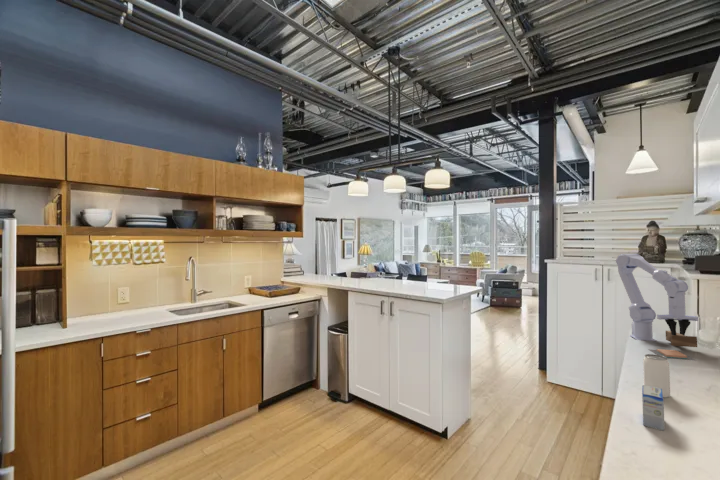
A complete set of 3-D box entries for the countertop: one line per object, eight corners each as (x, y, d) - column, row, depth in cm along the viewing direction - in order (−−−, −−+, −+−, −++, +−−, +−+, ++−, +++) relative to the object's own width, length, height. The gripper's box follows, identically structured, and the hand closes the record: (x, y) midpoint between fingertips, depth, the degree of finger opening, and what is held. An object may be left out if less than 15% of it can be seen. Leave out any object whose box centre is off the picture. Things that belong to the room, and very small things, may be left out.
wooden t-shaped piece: (657, 339, 168) (657, 330, 168) (680, 340, 165) (680, 331, 165) (672, 345, 155) (671, 335, 155) (697, 347, 152) (696, 337, 153)
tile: (656, 349, 153) (666, 354, 145) (676, 350, 150) (686, 355, 143) (656, 351, 153) (666, 357, 145) (676, 353, 150) (687, 358, 143)
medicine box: (642, 414, 98) (641, 384, 99) (663, 419, 96) (662, 388, 96) (643, 426, 92) (641, 393, 93) (665, 431, 90) (663, 398, 90)
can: (639, 392, 113) (638, 355, 113) (650, 388, 116) (649, 352, 116) (663, 399, 107) (662, 361, 108) (674, 395, 110) (673, 358, 110)
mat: (648, 350, 156) (648, 349, 156) (679, 352, 153) (679, 351, 153) (662, 359, 144) (662, 357, 144) (696, 361, 141) (696, 360, 141)
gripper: (662, 307, 158) (663, 336, 157) (701, 308, 153) (703, 338, 153) (654, 304, 164) (655, 333, 164) (692, 305, 160) (693, 335, 159)
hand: (677, 335), depth 159 cm, fingers closed on wooden t-shaped piece, 2 cm apart
